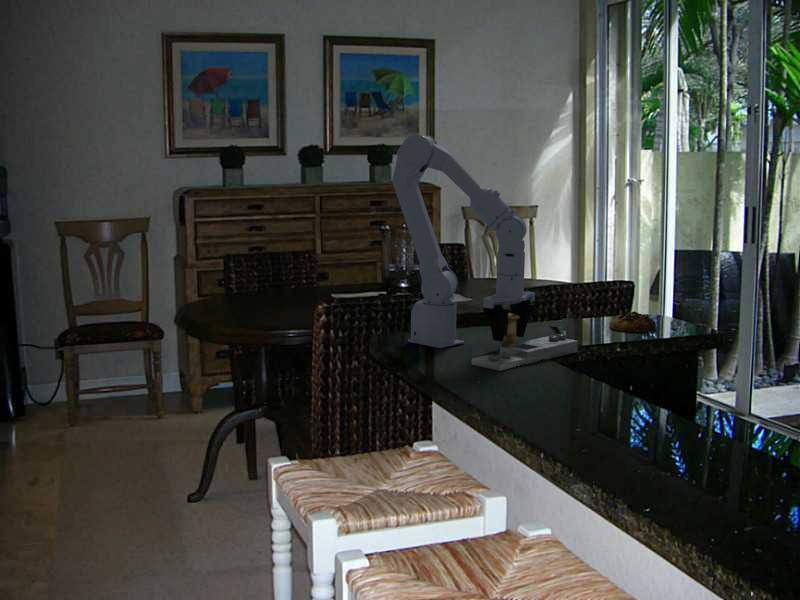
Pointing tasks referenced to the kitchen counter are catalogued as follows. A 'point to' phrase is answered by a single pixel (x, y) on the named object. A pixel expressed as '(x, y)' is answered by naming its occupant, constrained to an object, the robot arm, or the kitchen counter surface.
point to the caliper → (565, 325)
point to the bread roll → (632, 323)
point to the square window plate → (505, 360)
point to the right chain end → (543, 347)
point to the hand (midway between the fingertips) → (508, 338)
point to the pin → (510, 329)
